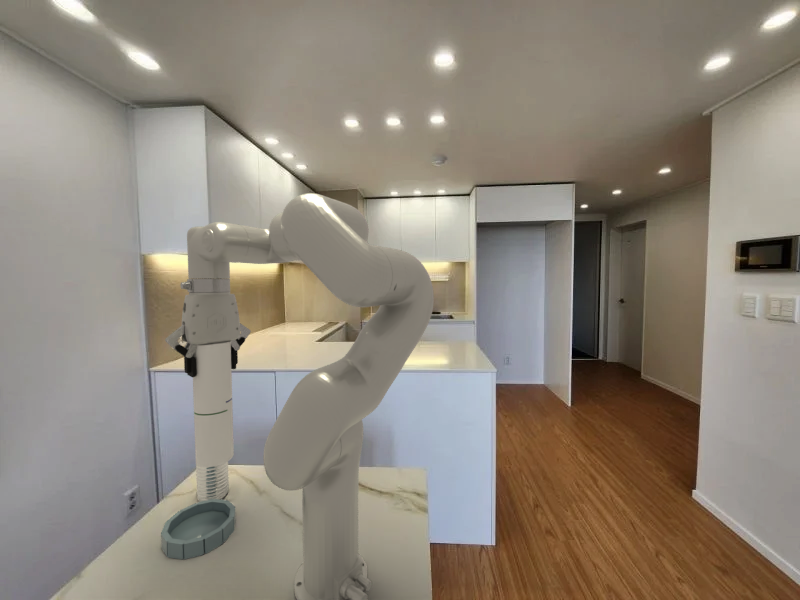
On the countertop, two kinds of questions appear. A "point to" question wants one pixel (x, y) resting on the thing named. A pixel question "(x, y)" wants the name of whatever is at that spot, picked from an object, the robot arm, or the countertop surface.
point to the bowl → (198, 529)
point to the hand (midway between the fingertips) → (212, 371)
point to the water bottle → (212, 482)
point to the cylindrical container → (213, 404)
